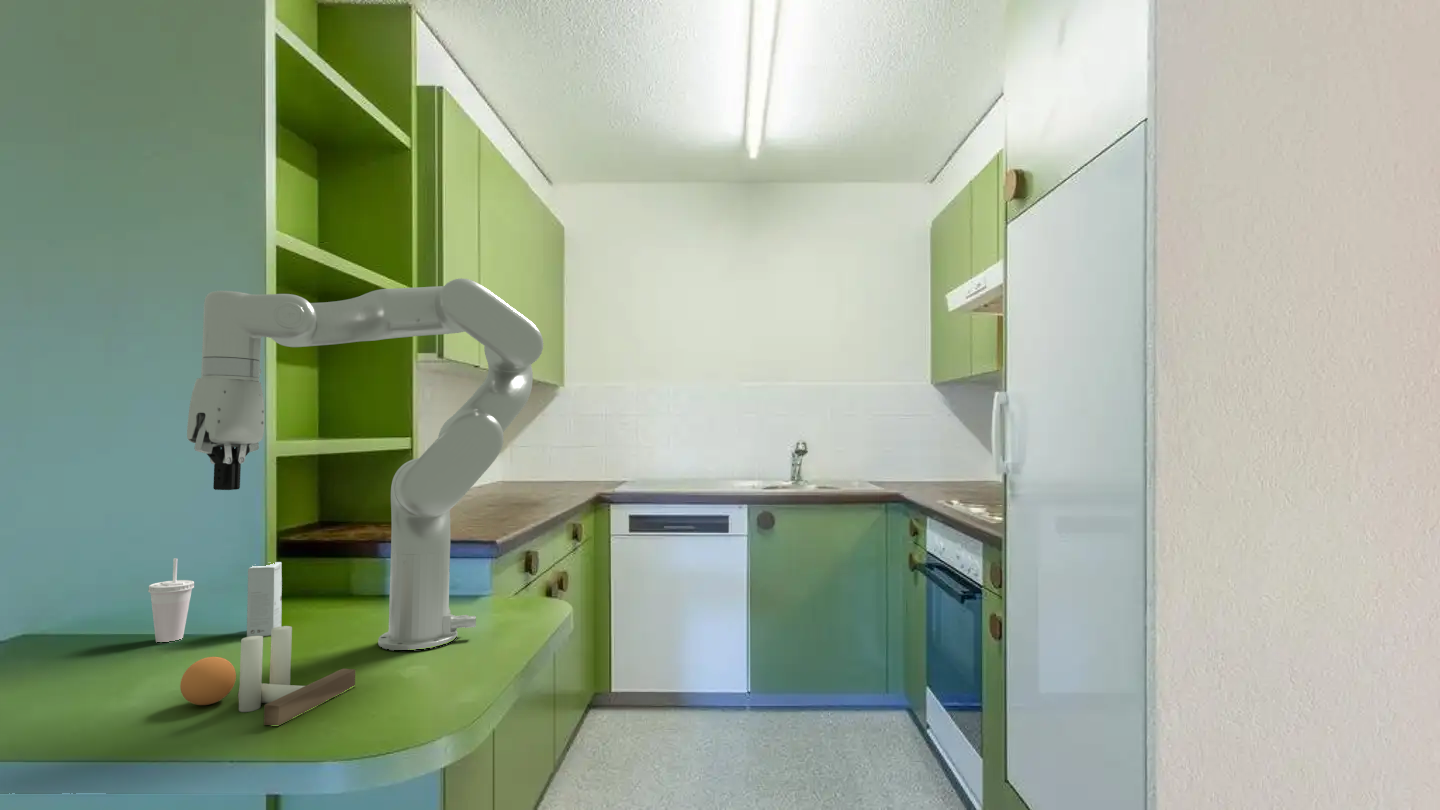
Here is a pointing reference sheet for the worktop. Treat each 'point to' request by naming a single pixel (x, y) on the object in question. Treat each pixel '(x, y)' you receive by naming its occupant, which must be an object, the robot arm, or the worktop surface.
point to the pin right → (280, 655)
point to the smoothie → (170, 606)
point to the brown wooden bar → (308, 697)
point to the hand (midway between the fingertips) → (226, 489)
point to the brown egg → (208, 680)
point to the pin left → (250, 673)
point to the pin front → (275, 691)
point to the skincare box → (264, 599)
